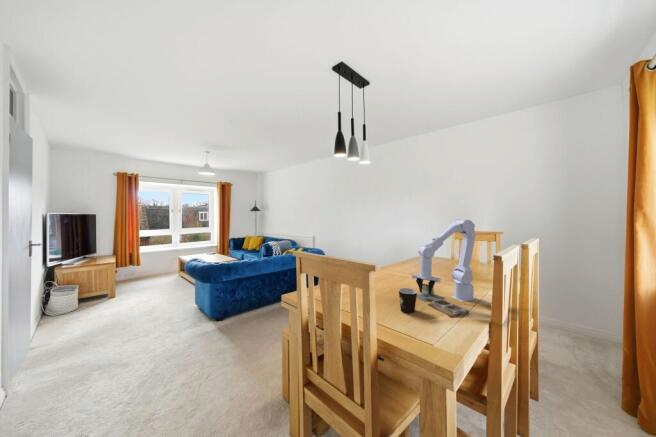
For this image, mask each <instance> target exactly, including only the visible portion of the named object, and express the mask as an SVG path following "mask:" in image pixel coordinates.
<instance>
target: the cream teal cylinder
mask: <svg viewBox="0 0 656 437" xmlns="http://www.w3.org/2000/svg"><path fill="white" fill-rule="evenodd" d="M421 294H422V296H423V297H430V295H429V285H428V283H423V284H422V293H421Z"/></svg>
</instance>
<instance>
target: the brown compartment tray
mask: <svg viewBox="0 0 656 437" xmlns="http://www.w3.org/2000/svg"><path fill="white" fill-rule="evenodd" d="M427 306H428V307H430V308H433V309H434V310H437V311H438V312H441V313H442V314H444V315H447V317H449V318H453V317H457V316H463V315H467V314H470V310H467V309H465V308H462V307H461V306H458V305H455V304H453V303H451V302H449V301H446V300H445V299H439V300H433V301H431V303H427Z"/></svg>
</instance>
